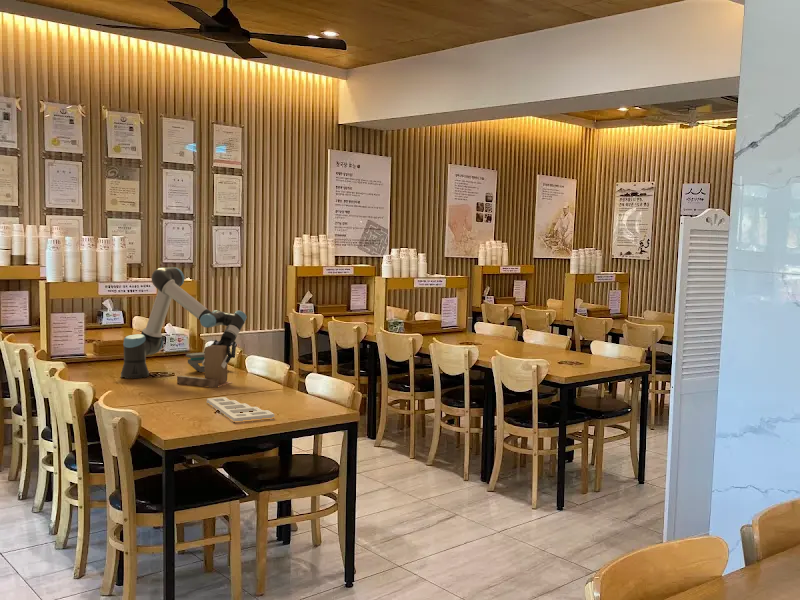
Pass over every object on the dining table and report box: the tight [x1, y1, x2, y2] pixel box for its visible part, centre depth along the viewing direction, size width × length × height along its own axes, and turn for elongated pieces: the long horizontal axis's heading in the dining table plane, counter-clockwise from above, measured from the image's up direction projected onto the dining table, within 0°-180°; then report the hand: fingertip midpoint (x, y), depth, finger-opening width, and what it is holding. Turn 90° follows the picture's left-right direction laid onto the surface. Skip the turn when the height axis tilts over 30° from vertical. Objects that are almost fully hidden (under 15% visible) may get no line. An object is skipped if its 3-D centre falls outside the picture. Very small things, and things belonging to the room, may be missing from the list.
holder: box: [206, 396, 275, 421], centre depth 337 cm, size 45×18×3 cm, turn 29°
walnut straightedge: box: [176, 375, 219, 388], centre depth 396 cm, size 25×3×4 cm, turn 67°
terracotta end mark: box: [219, 381, 234, 387], centre depth 401 cm, size 13×12×1 cm
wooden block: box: [204, 344, 228, 384], centre depth 400 cm, size 10×10×20 cm
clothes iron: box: [185, 351, 228, 373], centre depth 440 cm, size 25×8×11 cm, turn 128°
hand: (213, 366), depth 398 cm, fingers closed on wooden block, 12 cm apart
